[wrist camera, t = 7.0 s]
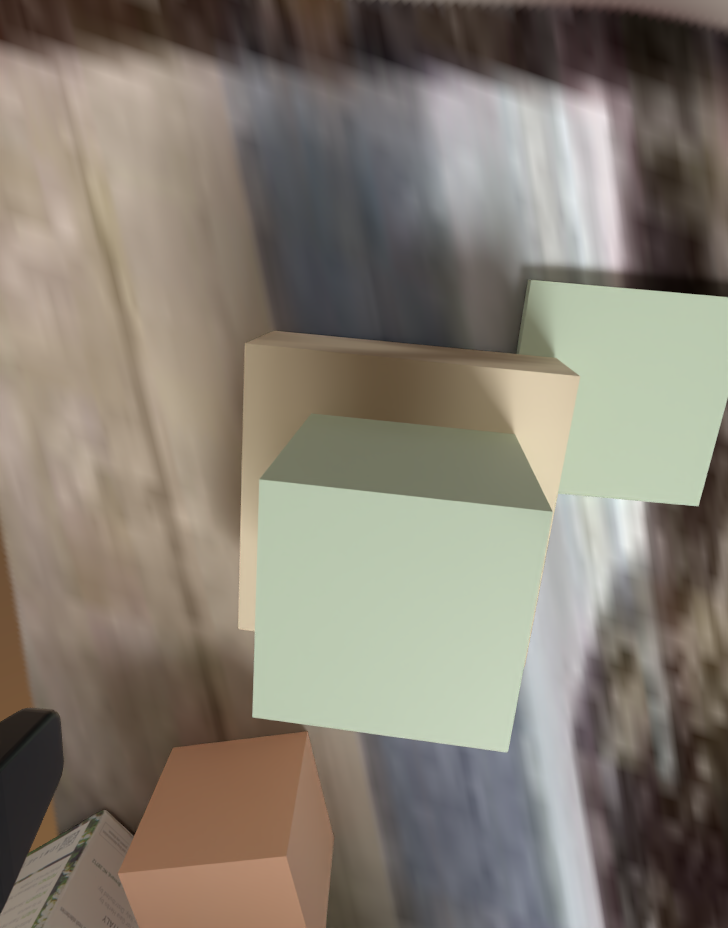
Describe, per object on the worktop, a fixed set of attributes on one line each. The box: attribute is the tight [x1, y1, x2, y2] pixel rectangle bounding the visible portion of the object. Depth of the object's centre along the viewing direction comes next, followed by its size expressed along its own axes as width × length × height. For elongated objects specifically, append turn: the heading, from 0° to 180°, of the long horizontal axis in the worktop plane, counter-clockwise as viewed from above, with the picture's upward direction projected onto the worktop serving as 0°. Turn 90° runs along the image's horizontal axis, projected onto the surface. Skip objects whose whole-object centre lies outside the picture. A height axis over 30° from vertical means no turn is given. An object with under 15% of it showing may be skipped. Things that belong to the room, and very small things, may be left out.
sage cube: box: [252, 413, 553, 753], centre depth 14 cm, size 5×5×5 cm
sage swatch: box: [516, 280, 728, 506], centre depth 18 cm, size 6×6×1 cm
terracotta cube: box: [118, 731, 334, 928], centre depth 21 cm, size 5×5×5 cm
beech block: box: [238, 331, 580, 667], centre depth 18 cm, size 8×8×3 cm
